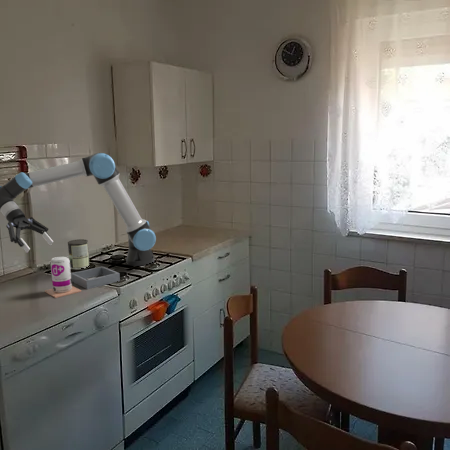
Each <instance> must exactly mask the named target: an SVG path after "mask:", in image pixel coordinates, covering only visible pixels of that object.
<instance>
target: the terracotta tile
mask: <svg viewBox="0 0 450 450" xmlns="http://www.w3.org/2000/svg"><path fill="white" fill-rule="evenodd" d="M81 292H82V290H81V289H79V288H78V287H75V286H74V285H72V289H71V290H70V291H68V292H64V293H56V292H55V291H53V288H49V289H46V290H44V293H46V294H48V295H49V296H51V297H53V298H55V299H57V298H61V297H62V298H63V297H65V296H70V295H73V294H78V293H81Z"/></svg>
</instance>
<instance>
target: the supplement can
mask: <svg viewBox="0 0 450 450" xmlns="http://www.w3.org/2000/svg"><path fill="white" fill-rule="evenodd" d="M71 270H72V269H71V268H70V260H69V256H56V257H52V258H51V260H50V271H51V282H52V289H53V291H55V292H56V293H64V292H68V291H70V290H71V289H72V286H73V284H72V283H73V282H72V281H71V273H72V272H71Z"/></svg>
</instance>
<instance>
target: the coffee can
mask: <svg viewBox="0 0 450 450" xmlns="http://www.w3.org/2000/svg"><path fill="white" fill-rule="evenodd" d="M88 243H89V241H88V239H81V238H80V239H73V240H68V241H67V247H68V248H67V249H68V259H69V260H70V270H82V269H81V268H84V269H87V268H86V267H88V266H89V265H90V257H89V244H88ZM89 267H90V266H89ZM89 267H88V268H89Z"/></svg>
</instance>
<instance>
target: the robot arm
mask: <svg viewBox="0 0 450 450" xmlns="http://www.w3.org/2000/svg"><path fill="white" fill-rule="evenodd" d="M120 174H121V173H120V171H119V170H118V168H117V166H116V163H115V161H114V159H113V158H112V156H110V155H109V154H107V153H104V152H97V153H93V154H91V155H88V156H85V157H82V158H80V160H76V161H74V162H68V163H65V164H60V165H55V166H52V167H48V168H43V169H39V170H38V169H37V170H34V171H29V172H22V171H21V172H19V173H18V174H16V175H14V176H15V177H14V176H13V177H14V178H13V177H12V178H11V179H10V180H9V181H7V183H5V184H4V185H1V186H0V213H1V214H2V215H3V216H4V218H6V220H7V224H6V226H5V227H6V228H7V230H8V231H7V232H8V235H9V240H10V242H11V243H14V244H17V245H18V246H19V247H20V248H21V249H22V250H24V252H25V253H26V254H28V253H29V251H30V250H31V248H30V247H29V245H28V243H26V241H25V240H24V239H23V237H21V231H23V230H31V231H34V232H36V233H38V234H40V235H41V237H42V238H43V239H44V240H45V242H46V243H47V245H49V246H52V245H53V244H54V240H53V239H52V238H51V236H50V235H49V233H48V231H49V227H47V226H45V225H44V224H42V223H40V222H39V221H37V220H36V219H35V218H34V217H32V216H30V217H29V218H27V217H26V215H25V213H24V212H23V210H22V209H21V207H19V205H18V204H17V203H16V202H15V201H14V199H15V198H17V197H18V196H19V195H21V194H22V193H23V192H25V191H26V190H28V189H32V188H36V187H40V186H43V185H44V186H45V185H49V184H53V183H58V182H61V181H65V180H70V179H74V178H78V177H83V176H85V177H87V178H88V177H91V176H93V177H94V179H95V181H96V182H97V184H98V185H99V186H101V187H103V188H104V190H105V192H106V194H107V195H108V197H109V198H110V200H111V202H112V204H113V205H114V207H115V209H116V210H117V213H118V214H119V216H120V217H121V219H122V220H123V223H124V224H125V226H126V229H125V232H126V233H127V237H128V238H127V239H128V242H127V243H128V252H127V256H126V259H125V260H126V261H125V262H126V265H129V266H133V267H134V266H135V267H136V266H137V267H138V266H147V265H146V264H148V265H150V264H149V263H151V264H153V263H154V262H155V256H154V253H153V251H152V248H153V247H154V246H155V244H156V242H157V237H156V234H155V231H154V230H152V227H150V223H149V222H150V221H148V220H146V219H144V218H142V217H141V215H140V213H139V211H138V210H137V208H136V206H135V204H134V203H133V201H132V199H131V197H130V196H129V193H128V192H127V190H126V188H125V187H124V185H123V182H121V180H120ZM152 262H153V263H152Z"/></svg>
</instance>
